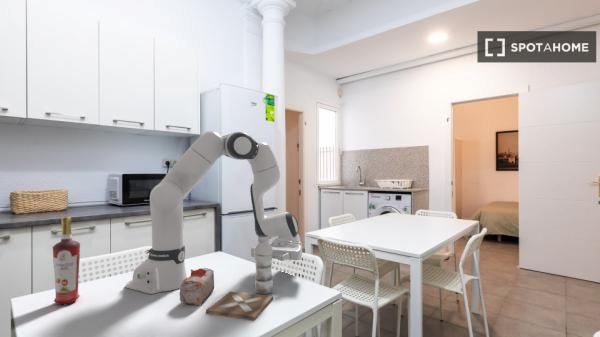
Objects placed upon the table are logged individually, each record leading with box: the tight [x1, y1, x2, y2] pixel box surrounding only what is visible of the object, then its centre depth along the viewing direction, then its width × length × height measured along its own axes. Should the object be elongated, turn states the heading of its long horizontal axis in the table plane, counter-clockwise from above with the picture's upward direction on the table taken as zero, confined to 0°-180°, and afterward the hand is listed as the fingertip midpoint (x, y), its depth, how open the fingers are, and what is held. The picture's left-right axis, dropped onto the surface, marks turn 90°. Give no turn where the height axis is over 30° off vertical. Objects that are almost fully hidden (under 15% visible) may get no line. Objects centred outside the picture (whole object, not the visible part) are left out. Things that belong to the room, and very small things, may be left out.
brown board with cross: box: [205, 291, 274, 321], centre depth 101 cm, size 16×15×1 cm
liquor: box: [52, 216, 81, 306], centre depth 104 cm, size 7×7×28 cm
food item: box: [178, 267, 215, 306], centre depth 107 cm, size 14×8×10 cm, turn 176°
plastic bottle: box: [254, 235, 274, 295], centre depth 111 cm, size 6×7×20 cm
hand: (269, 257), depth 117 cm, fingers open, 8 cm apart
